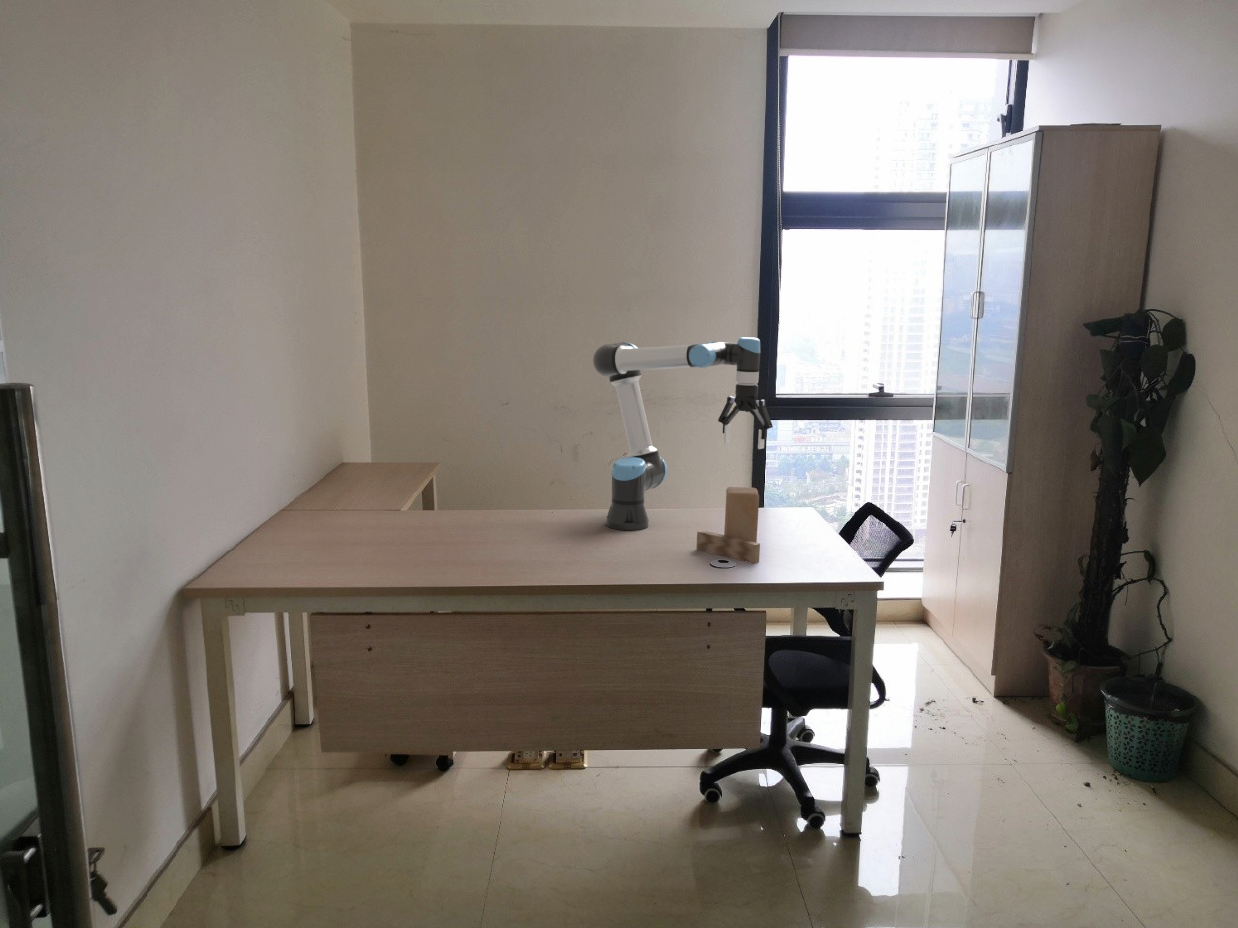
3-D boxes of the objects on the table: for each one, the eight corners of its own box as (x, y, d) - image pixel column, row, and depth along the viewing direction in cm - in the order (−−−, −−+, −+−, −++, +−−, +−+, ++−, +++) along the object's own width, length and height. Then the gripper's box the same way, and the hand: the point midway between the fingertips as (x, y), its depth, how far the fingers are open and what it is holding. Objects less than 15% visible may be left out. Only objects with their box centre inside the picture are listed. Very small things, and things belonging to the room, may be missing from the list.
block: (756, 555, 286) (759, 494, 282) (724, 553, 286) (727, 492, 283) (753, 546, 296) (757, 487, 292) (723, 544, 296) (726, 486, 292)
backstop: (696, 549, 290) (697, 531, 289) (700, 547, 292) (701, 529, 291) (754, 563, 277) (755, 545, 275) (759, 562, 278) (760, 543, 277)
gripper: (785, 386, 296) (781, 449, 300) (722, 380, 312) (719, 439, 316) (773, 388, 291) (769, 452, 295) (710, 381, 306) (707, 442, 310)
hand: (743, 446), depth 305 cm, fingers open, 13 cm apart
